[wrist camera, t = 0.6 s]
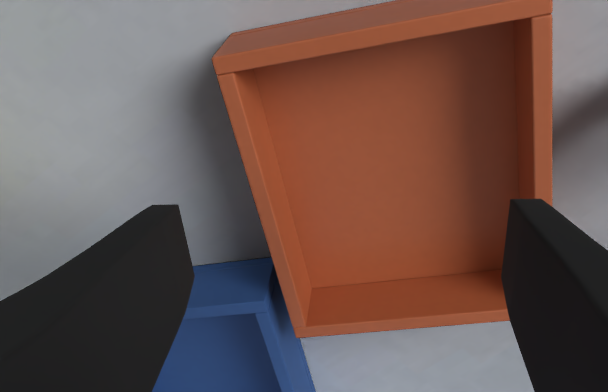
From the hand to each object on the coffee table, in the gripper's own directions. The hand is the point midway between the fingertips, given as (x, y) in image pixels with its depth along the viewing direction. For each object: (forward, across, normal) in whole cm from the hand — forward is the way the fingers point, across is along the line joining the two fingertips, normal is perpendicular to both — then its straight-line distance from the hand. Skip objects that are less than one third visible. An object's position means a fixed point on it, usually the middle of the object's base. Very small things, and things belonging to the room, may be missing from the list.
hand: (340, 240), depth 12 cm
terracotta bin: (+10, -2, +3) cm, 11 cm away
